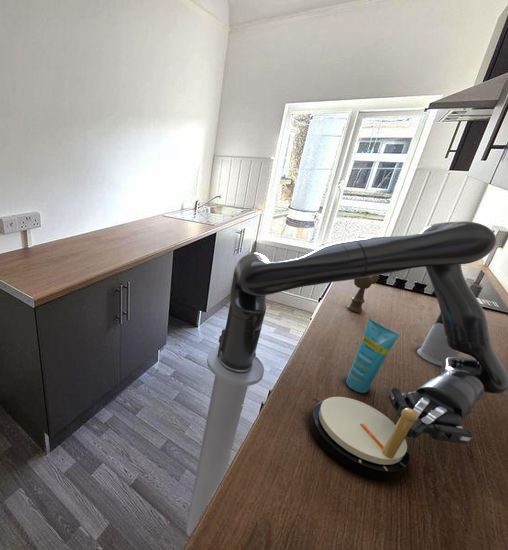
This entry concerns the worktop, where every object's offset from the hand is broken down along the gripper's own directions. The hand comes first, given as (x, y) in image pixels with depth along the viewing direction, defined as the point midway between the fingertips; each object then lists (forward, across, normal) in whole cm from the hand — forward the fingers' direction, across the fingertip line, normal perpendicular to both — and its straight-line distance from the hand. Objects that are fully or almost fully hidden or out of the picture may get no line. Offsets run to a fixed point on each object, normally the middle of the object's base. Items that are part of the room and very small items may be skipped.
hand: (406, 431), depth 53 cm
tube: (-20, -15, +11) cm, 27 cm away
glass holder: (-60, -10, +11) cm, 62 cm away
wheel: (-2, -6, +8) cm, 10 cm away
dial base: (-2, -6, +11) cm, 13 cm away
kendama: (-65, -39, +11) cm, 77 cm away
